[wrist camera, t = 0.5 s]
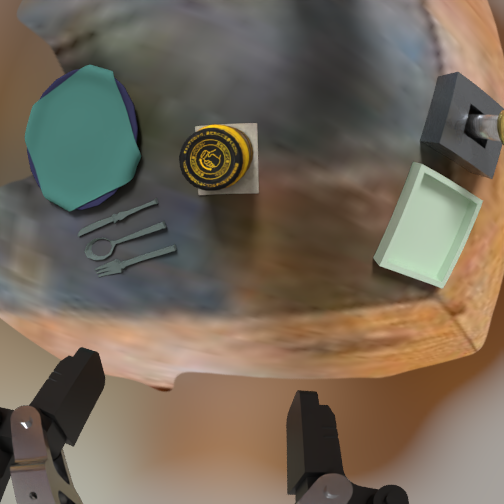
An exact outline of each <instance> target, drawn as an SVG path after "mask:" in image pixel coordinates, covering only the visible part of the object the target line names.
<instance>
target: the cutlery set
mask: <svg viewBox="0 0 504 504" xmlns="http://www.w3.org/2000/svg"><path fill="white" fill-rule="evenodd" d="M137 135H138V125H137V119H136V114H135V108H134V104H133V102H132V100H131V98H130V97H129V95H128V93H127V91H126V89H125V87H124V86H123V85H122V84H121V83H120V82H119V81H118V80H116V79H115V78H114V75H113V71H110V70H108V69H103V68H99V67H97V66H93V65H87V66H85V67H83V68H81V69H79V70H73V71H71V72H69V73H67V74H65V75H64V76H62V77H60V78H58V79H57V80H56V81H55V82H54V83H53V84H52V85H51V86H50V87H49V88H48V89H47V90H46V91H45V92H44V93H43V94H42V96H41V98H40V100H39V101H38V102H36V103H35V104H34V105H33V107H32V110H31V114H30V117H29V121H28V124H27V128H26V132H25V142H26V145H27V153H28V158H29V164H30V168H31V171H32V174H33V176H34V178H35V180H36V182H37V184H38V186H39V187H40V189H41V190H42V193H43V195H44V197H45V198H46V199H48V200H49V201H50V202H54V204H57V205H58V206H59V207H63V209H65V210H68V211H69V212H70V211H72V210H74V209H77V210H84V209H87V208H91V207H95V206H98V205H100V204H101V203H103V202H104V201H105V200H107V199H108V198H109V197H111V196H112V195H114V194H115V192H116V191H117V190H118V188H119V187H120V186H122V185H124V184H126V183H128V182H129V181H130V180H131V179H132V178H133V177H134V175H135V172H136V168H137V165H138V163H139V161H140V158H141V154H140V151H139V149H138V147H137ZM153 204H158V201H157V198H156V199H155V200H154V201H151V202H149V203H147V204H144V205H142V206H139V207H136V208H134V209H131V210H129V211H124V212H120V213H118V214H117V215H115V214H113V215H112V217H110V218H106V219H103V220H100V221H98V222H95V223H93V224H91V225H89V226H87V227H85V228H83V229H81V230H80V231H79V233H78V237H79V236H81V235H83V234H85V233H88V232H90V231H92V230H94V229H97V228H99V227H101V226H103V225H106V224H108V223H110V222H113V221H114V223H116V222H117V221H118V220H122V219H123V218H125V217H126V216H127V215H129V214H132V213H134V212H136V211H138V210H140V209H142V208H145V207H148V206H150V205H153ZM166 227H167V226H166V224H165V222H164V221H163V222H161V223H158V224H156V225H153V226H151V227H148V228H146V229H143V230H141V231H138V232H136V233H134V234H131V235H128V236H126V237H124V238H121V239H119V240H116V241H111V240H109V239H106V238H97V239H94V240H92V241H91V242H90V243H88V244H87V246H86V249H85V251H84V252H85V254H86V256H87V258H90V259H93V260H102V259H105V258H107V257H108V256H109V255H111V253H112V251H113V249H114V247H115V245H116V244H117V243H120V242H123V241H126V240H129V239H133V238H136V237H139V236H142V235H145V234H148V233H151V232H154V231H157V230H160V229H162V228H166ZM99 239H105V240H108V241H110V243H111V245H112V248H111V251H110V253H108V254H107V255H106V256H100V257H99V256H96V255H94V254H93V253H92V251H91V247H92V245H93V243H94V242H95V241H97V240H99ZM176 249H177V248H176V245H173V246H169V247H166V248H163V249H160V250H156V251H153V252H150V253H147V254H144V255H141V256H138V257H135V258H132V259H130V260H127V261H122V262H121V261H119V260H118V259H116V260H114V261H111V262H109V263H107V264H104V265H102V266H100V267H98V268H96V269H95V270H98V269H102V268H105V269H103V270H100V271H98V272H96V273H97V274H98V273H101V272H106V271H108V272H106V273H103V274H101V275H99V276H98V277H101V276H105V275H110V274H115V273H121V272H122V271H123V269H124V268H125V267H126V266H128V265H131V264H134V263H137V262H139V261H143V260H146V259H149V258H152V257H156V256H160V255H163V254H166V253H169V252H172V251H176ZM106 267H107V268H106Z"/></svg>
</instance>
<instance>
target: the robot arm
mask: <svg viewBox="0 0 504 504" xmlns="http://www.w3.org/2000/svg"><path fill="white" fill-rule="evenodd" d="M104 385H105V375H104V371H103V367H102V364H101V360H100V356H99V353H98V352H96V351H92V350H89V349H86V348H83V347H81V348H79V349H78V351H77V352H76V353H75V355H74V356H73V357H72V356H68V357H66V358H65V359H63V360H62V361H60V363H59V364H58V365H57V366H56V368H55V369H54V372H52V373H51V375H50V376H49V379H47V380H46V382H45V383H44V385H43V386H42V388H41V389H40V391H39V392H38V393H37V395H36V396H35V398H34V400H33V401H32V402H31V404H30V405H29V406H28V405H23V406H20V407H18V408H16V409H15V410H10V409H5V408H1V407H0V502H1V499H2V496H3V494H4V491H5V489H6V486H7V484H8V481H9V479H10V476H11V478H12V483H13V488H14V492H15V497H16V501H17V504H83V503H82V500H81V498H80V497H79V495H78V493H77V492H76V490H75V488H74V485H73V482H72V479H71V476H70V473H69V469H68V466H67V462H66V459H65V455H64V452H63V449H62V448H63V446H64V444H65V443H67V444H69V445H71V446H74V445H75V443H76V441H77V439H78V437H79V435H80V433H81V431H82V429H83V427H84V425H85V423H86V421H87V419H88V417H89V415H90V413H91V411H92V409H93V408H94V406H95V404H96V401H97V400H98V398H99V396H100V394H101V392H102V391H103V388H104ZM286 426H287V427H286V428H287V487H288V488H287V493H288V494H290V495H291V494H292V495H293V494H294V495H296V503H295V504H409V501H408V496H407V494H406V492H405V491H404V490H403V489H402V488H401V487H399V486H396V485H386V486H383V487H382V488H380V489H379V490H378V489H372V488H367V487H361V486H358V485H355V484H353V483H352V482H350V481H349V480H348V479H347V477H346V476H345V474H344V471H343V466H342V459H341V452H340V445H339V439H338V432H337V429H336V421H335V415H334V414H333V412H332V411H331V409H330V408H329V406H328V405H319V400H318V394H317V392H314V391H299V390H298V391H297V392H296V395H295V397H294V399H293V402H292V405H291V407H290V410H289V412H288V416H287V425H286Z"/></svg>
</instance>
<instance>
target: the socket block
mask: <svg viewBox="0 0 504 504" xmlns="http://www.w3.org/2000/svg"><path fill="white" fill-rule="evenodd" d="M502 110H504V109H503V108H502V107H501V106H500V105H499V104H498V103H497V102H496V101H494V100H493V99H492V98H491V97H490V96H489V95H487V94H486V93H485V92H484V91H483V90H481V89H480V88H479V87H478V86H476V85H475V84H474V83H472V82H471V81H470V80H469V79H467V78H466V77H465V76H463V75H462V74H460V73H459V72H455V73H451V74H447V75H443V76H439V77H438V79H437V83H436V87H435V91H434V95H433V99H432V102H431V106H430V109H429V113H428V116H427V120H426V123H425V126H424V130H423V133H422V136H421V139H420V141H421V142H423V143H425V144H426V145H428V146H430V147H432V148H433V149H435V150H437V151H438V152H440V153H442V154H443V155H445V156H446V157H448V158H450V159H451V160H453V161H454V162H456V163H457V164H459V165H461V166H462V167H464V168H465V169H467V170H468V171H469V172H471V173H474V174H477V175H481V176H484V177H487V178H490V179H492V178H493V175H494V172H495V168H496V165H497V162H498V158H499V155H500V151H501V147H502V142H501V141H495V140H488V139H481V138H473V137H468V136H467V135H466V134H464V133H463V132H464V129H465V125H466V121H467V117H468V114H476V115H499V114H500V112H501V111H502Z"/></svg>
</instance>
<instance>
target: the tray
mask: <svg viewBox="0 0 504 504" xmlns="http://www.w3.org/2000/svg"><path fill="white" fill-rule="evenodd" d="M482 202H483V201H482V200H481V199H479V198H478V197H476V196H475V195H473V194H471V193H470V192H468V191H467V190H465V189H464V188H462V187H461V186H459V185H457V184H456V183H454V182H452V181H451V180H449V179H447V178H446V177H444V176H442V175H441V174H439V173H437V172H436V171H434V170H432V169H430V168H428V167H427V166H425V165H423V164H421V163H417V162H413V163H412V166H411V168H410V171H409V174H408V177H407V179H406V182H405V185H404V187H403V190H402V192H401V195H400V197H399V200H398V202H397V205H396V207H395V210H394V212H393V215H392V217H391V219H390V222H389V224H388V226H387V229H386V231H385V233H384V236H383V238H382V240H381V242H380V245H379V247H378V249H377V251H376V253H375V255H374V260H375V261H376V262H377V264H378V265H379V266H381V267H384V268H387V269H390V270H392V271H395V272H398V273H401V274H404V275H407V276H409V277H412V278H415V279H418V280H421V281H423V282H426V283H429V284H432V285H434V286H437V287H440V288H442V289H443V287H444V286H445V284H446V282H447V280H448V278H449V276H450V274H451V272H452V270H453V268H454V266H455V264H456V262H457V260H458V258H459V256H460V254H461V252H462V250H463V248H464V245H465V243H466V241H467V239H468V237H469V234H470V232H471V230H472V227H473V225H474V222H475V220H476V218H477V215H478V213H479V210H480V207H481V205H482Z"/></svg>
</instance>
